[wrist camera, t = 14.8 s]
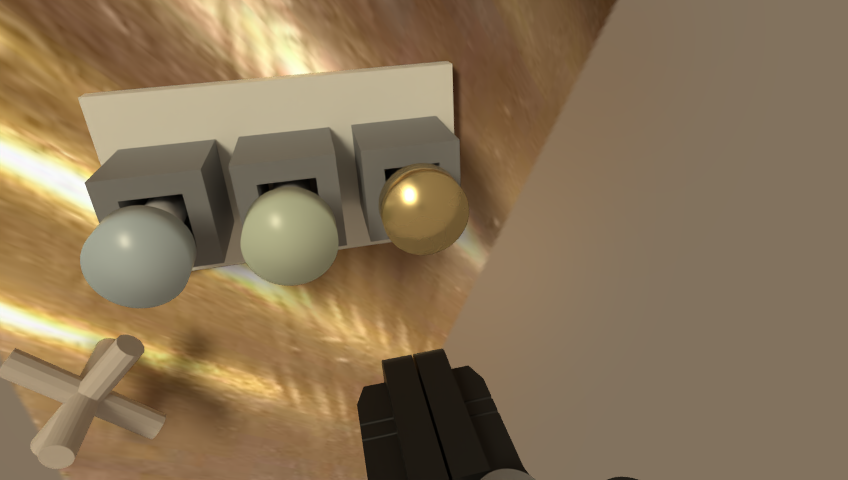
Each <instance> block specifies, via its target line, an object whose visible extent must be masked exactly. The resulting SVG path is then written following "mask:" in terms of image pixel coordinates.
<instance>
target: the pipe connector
mask: <svg viewBox="0 0 848 480" xmlns="http://www.w3.org/2000/svg"><path fill="white" fill-rule="evenodd" d="M143 353H144V346H143V344H142V343H141V341H140V340H138V339H137V338H135V337H133V336H130V335H120V336H119V337H118V338H117V339H116V340H115V339H103V340H101V341H99V342H98V343H97V345H96V347H95V349H94V351H93V353H92V355H91V356H90V358H89V360H88V362H87V364H86V366H85V368H84V369H83V371H82V373H81V375H80V376H78V375H76V374H73V373H71V372H69V371H66V370H64V369H62V368H60V367H57V366H55V365H53V364H51V363H48V362H46V361H44V360H41V359H39V358H37V357H35V356H32V355H30V354H28V353H25V352H23V351H21V350H19V349H16V348H15V349H14V350H13V352H12V353H11V354H10V356H9V357H8V358H7V359H6V361H5V362H4V363H3V365H2V366H1V367H0V377H1V378H3V379H6V380H8V381H11V382H13V383H16V384H18V385H20V386H23V387H25V388H28V389H30V390H33V391H35V392H37V393H40V394H42V395H45V396H47V397H50V398H52V399H54V400H57V401H59V402H62V403H63V404H62V405H61V406H60V408H59V409H58V410H57V411H56V412H55V414H54V415H53V416H52V417H51V418H50V420H49V421H48V422H47V423H46V424H45V426H44V427H43V428H42V429H41V430H40V432H39V433H38V434H37V435H36V437H35V438H34V439H33V440H32V442H31V446H30V448H31V450H32V452H33V453H34V454H35V455H37V456H38V460H39V461H40V463H42V464H43V465H44V466H46V467H49V468H53V469H61V468H65V467H67V466H69V465H71V464H72V463H73V461H74V459H75V457H76V455H77V453H78V451H79V448H80V446H81V444H82V442H83V440H84V437H85V435H86V433H87V431H88V429H89V426H90V424H91V422H92V420H93V418H94V416H96V417H98V418H101V419H103V420H106V421H108V422H110V423H113V424H115V425H118V426H120V427H123V428H125V429H127V430H130V431H132V432H135V433H137V434H140V435H142V436H144V437H147V438H149V439H153V438H154V437H155V436H156V435H157V433H158V432H159V431H160V429H161V427H162V426H163V424H164V421H165V419H166V414H164V413H162V412H160V411H158V410H155V409H153V408H151V407H148V406H146V405H144V404H142V403H139V402H137V401H135V400H133V399H130V398H128V397H126V396H123V395H121V394H119V393H117V392H114V391H112V389H113V388H114V387H115V386H116V385H117V383H118V382H119V381H120V380H121V379H122V378H123V376H124V375H125V374H126V373H127V372H128V370H129V369H130V368H131V367H132V366H133V365H134V363H135V362H136V361H137V360H138V359H139V358H140V356H141V355H142V354H143Z"/></svg>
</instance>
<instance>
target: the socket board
mask: <svg viewBox="0 0 848 480" xmlns="http://www.w3.org/2000/svg"><path fill="white" fill-rule="evenodd" d="M78 99H79V102H80V105H81V108H82V111H83V114H84V117H85V120H86V123H87V126H88V129H89V131H90V134H91V137H92V140H93V143H94V146H95V149H96V152H97V155H98V158H99V161H100V164H101V167H100V168H99V169H98V170H97V171H96V172H95V173H94V174H93V175H92V176H91V177H90V178H89V179H88V180H87V181H86V182H85V185H86V188H87V190H88V193H89V196H90V199H91V201H92V204H93V207H94V210H95V212H96V215H97V218H98V221H99V223H100V222H101V221H102V220H103V219H104V218H105V217H106V216H107V215H109V214H110V213H112V212H113V211H115V210H118V209H120V208H123V207H127V206H135V205H145V204H146V203H147V201H148V199H149V198H152V197H160V196H168V195H176V194H183V198H184V201H185V205H186V209H187V212H188V215H187V217H186V220H185V222H184V224H185V225H186V226H187V227H188V229H189V230H190V232H191V234H192V235H193V238H194V240H195V244H196V259H195V262H194V265H193V268H192V271H194V270H201V269H208V268H215V267H222V266H229V265H236V264H242V263H246V262H245V259H244V257H243V255H242V251H241V234H242V229H243V225H244V220H245V216H246V213H247V211H248V209H249V208H250V206H251V205H252V203H253V202H254V201H255V200H256V199H257V198H258V197H260V196H261V195H263V194H264V193H266V192H268V191H270V190H273V183H275V182H284V181H292V180H300V179H309V182H310V191H311V192H313V193H315V194H317V195H318V196H319V197H321V198H322V199H323V200H324V201H325V202H326V203H327V204H328V206H329V207H330V208H331V210H332V212H333V214H334V217H335V221H336V227H337V233H338V242H339V244H338V250H340V249H347V248H354V247H361V246H368V245H375V244H382V243H388V242H392V241H391V240H390V239H389V237H388V235H387V233H386V231H385V228H384V225H383V223H382V220H381V217H380V214H379V206H378V203H379V196H380V193H381V190H382V188H383V186H384V184H385V183H386V181H387V180H388V179H387V177H386V175H385V171H384V169H391V168H399V167H405V166H408V165H411V164H416V163H429V164H434V165H436V166H439V167H441V168H443V169H444V170H446V171H447V172H448V173H449V174H450V175H451V176H452V177H453V178H454V180H455V181H456V182H457V183H458V185H459V186H460V187H461V184H460V140H459V139H458V138H457V137H456V136H455V135H454V111H453V74H452V63H450V62H448V61H443V62H432V63H421V64H409V65H398V66H387V67H376V68H365V69H354V70H342V71H331V72H320V73H309V74H298V75H286V76H275V77H264V78H253V79H242V80H231V81H219V82H208V83H197V84H186V85H175V86H164V87H152V88H141V89H130V90H119V91H108V92H96V93H85V94H83V95H82V96H80V97H78Z"/></svg>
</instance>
